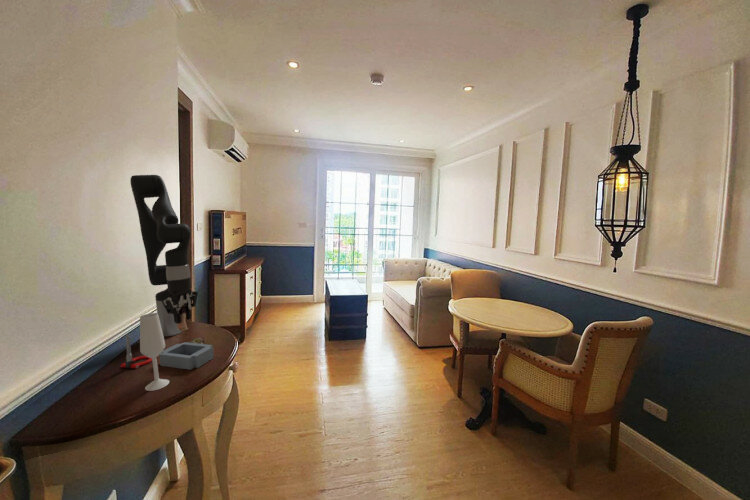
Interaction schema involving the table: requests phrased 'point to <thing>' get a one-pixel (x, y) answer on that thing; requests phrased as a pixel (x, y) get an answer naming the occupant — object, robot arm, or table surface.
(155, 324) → the champagne flute
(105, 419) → the table surface
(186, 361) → the well block
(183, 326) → the grandmother figurine
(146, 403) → the table surface
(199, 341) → the mineral rock
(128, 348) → the tow hook
